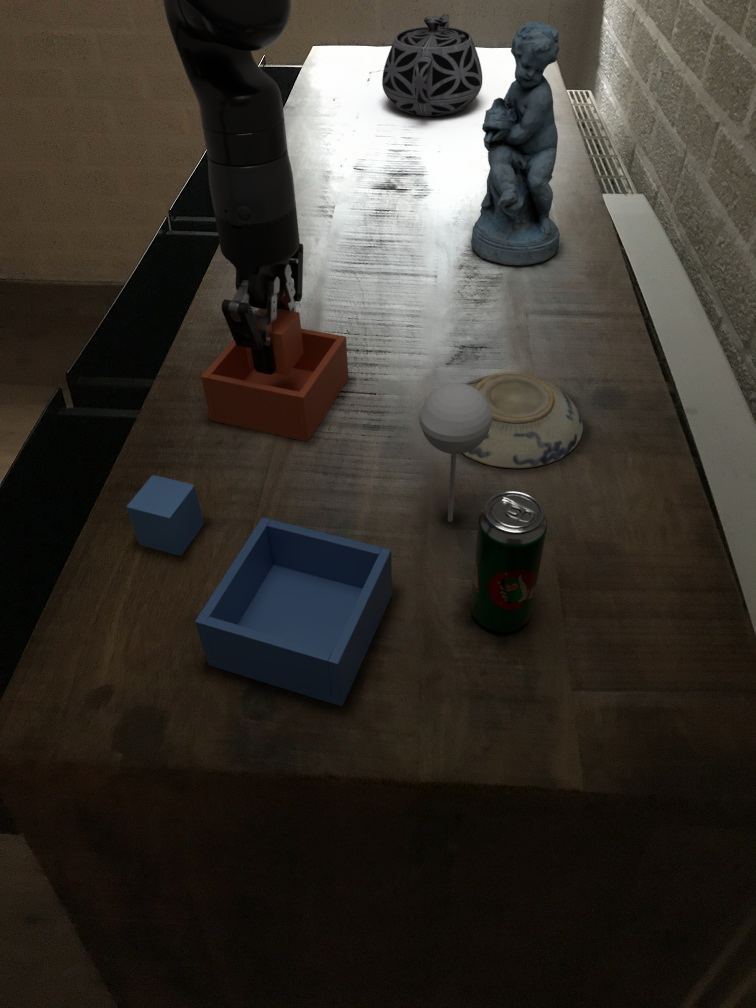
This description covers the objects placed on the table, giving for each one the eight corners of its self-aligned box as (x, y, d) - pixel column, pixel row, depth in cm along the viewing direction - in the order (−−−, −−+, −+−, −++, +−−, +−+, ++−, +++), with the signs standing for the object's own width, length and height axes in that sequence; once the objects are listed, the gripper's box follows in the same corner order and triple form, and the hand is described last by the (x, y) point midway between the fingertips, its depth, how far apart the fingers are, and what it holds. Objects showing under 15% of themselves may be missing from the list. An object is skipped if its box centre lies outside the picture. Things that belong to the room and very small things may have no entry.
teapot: (489, 80, 164) (495, -4, 154) (471, 134, 143) (476, 41, 133) (399, 76, 168) (398, -6, 157) (368, 129, 146) (365, 37, 136)
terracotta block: (249, 368, 84) (242, 327, 80) (267, 346, 87) (261, 305, 83) (287, 375, 83) (281, 334, 79) (304, 353, 86) (299, 312, 82)
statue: (472, 288, 112) (490, 125, 87) (462, 168, 122) (476, -9, 97) (559, 284, 112) (602, 120, 87) (542, 165, 121) (577, -14, 96)
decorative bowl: (610, 424, 84) (503, 364, 92) (617, 396, 82) (506, 337, 90) (517, 492, 77) (410, 421, 85) (522, 464, 75) (410, 394, 83)
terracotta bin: (210, 420, 86) (200, 376, 82) (257, 361, 94) (250, 318, 90) (308, 442, 83) (303, 397, 79) (348, 379, 91) (346, 336, 87)
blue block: (139, 545, 73) (125, 506, 70) (164, 512, 76) (152, 474, 73) (181, 556, 72) (169, 518, 69) (204, 523, 75) (194, 484, 72)
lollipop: (452, 488, 78) (459, 359, 67) (496, 521, 74) (510, 390, 64) (404, 518, 75) (404, 389, 64) (448, 553, 72) (455, 423, 61)
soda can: (486, 580, 69) (497, 478, 61) (540, 602, 67) (559, 501, 59) (459, 620, 66) (468, 520, 58) (515, 645, 64) (532, 545, 56)
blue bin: (208, 665, 64) (194, 621, 60) (270, 562, 71) (262, 516, 67) (342, 707, 61) (337, 664, 57) (392, 594, 68) (391, 549, 64)
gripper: (252, 167, 78) (272, 318, 90) (178, 230, 69) (212, 390, 81) (322, 175, 76) (333, 329, 88) (256, 242, 67) (279, 404, 79)
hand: (275, 358), depth 85 cm, fingers closed on terracotta block, 4 cm apart
